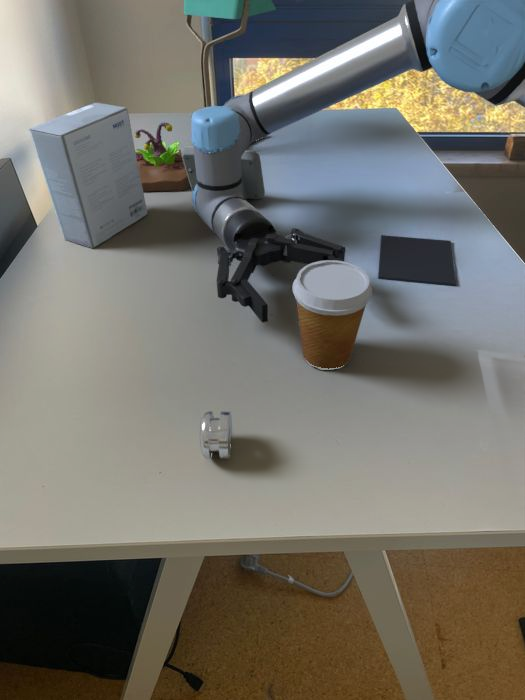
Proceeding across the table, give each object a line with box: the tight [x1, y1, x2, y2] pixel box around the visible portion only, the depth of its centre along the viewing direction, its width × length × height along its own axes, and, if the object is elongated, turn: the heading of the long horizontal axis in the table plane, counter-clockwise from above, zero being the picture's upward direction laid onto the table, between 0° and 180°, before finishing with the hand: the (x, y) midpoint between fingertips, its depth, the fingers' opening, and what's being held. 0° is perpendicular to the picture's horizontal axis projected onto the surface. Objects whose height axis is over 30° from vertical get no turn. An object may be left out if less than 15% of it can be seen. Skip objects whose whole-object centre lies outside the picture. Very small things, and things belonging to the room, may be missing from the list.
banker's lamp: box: [183, 0, 277, 146], centre depth 119 cm, size 16×21×35 cm
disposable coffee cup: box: [292, 260, 373, 369], centre depth 65 cm, size 10×10×12 cm
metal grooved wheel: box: [199, 410, 233, 460], centre depth 55 cm, size 5×3×5 cm, turn 178°
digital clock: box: [180, 145, 266, 201], centre depth 103 cm, size 16×9×11 cm, turn 63°
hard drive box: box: [28, 102, 148, 249], centre depth 91 cm, size 16×8×20 cm, turn 150°
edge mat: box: [377, 234, 457, 287], centre depth 87 cm, size 12×14×1 cm
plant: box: [134, 121, 191, 193], centre depth 113 cm, size 20×20×11 cm
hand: (311, 299), depth 68 cm, fingers open, 13 cm apart
